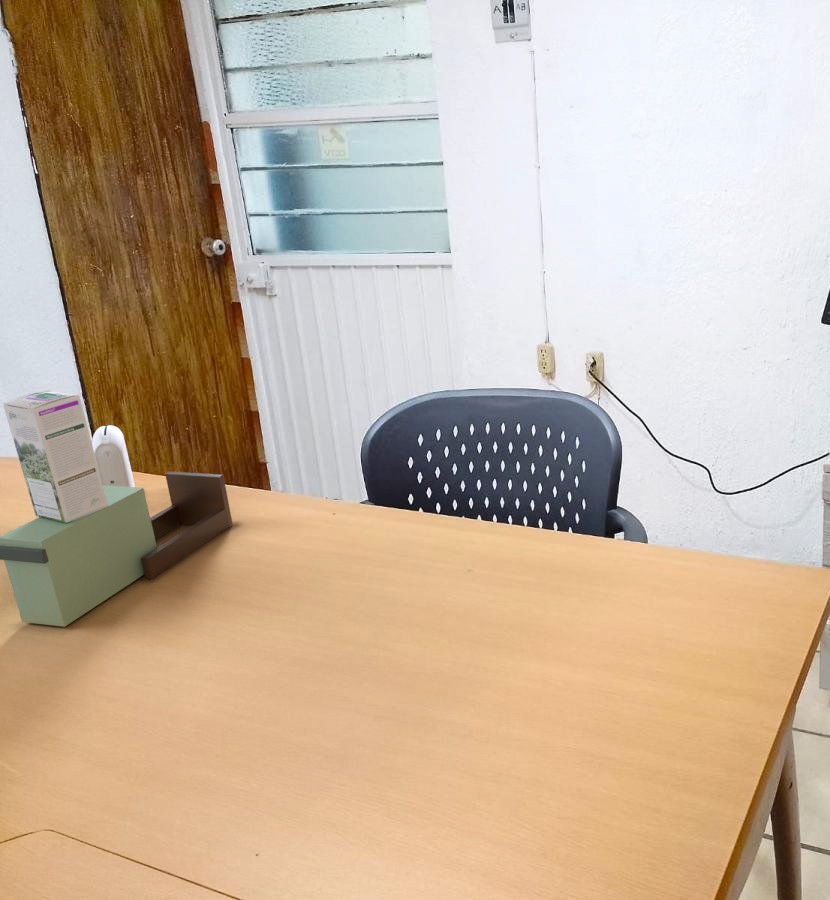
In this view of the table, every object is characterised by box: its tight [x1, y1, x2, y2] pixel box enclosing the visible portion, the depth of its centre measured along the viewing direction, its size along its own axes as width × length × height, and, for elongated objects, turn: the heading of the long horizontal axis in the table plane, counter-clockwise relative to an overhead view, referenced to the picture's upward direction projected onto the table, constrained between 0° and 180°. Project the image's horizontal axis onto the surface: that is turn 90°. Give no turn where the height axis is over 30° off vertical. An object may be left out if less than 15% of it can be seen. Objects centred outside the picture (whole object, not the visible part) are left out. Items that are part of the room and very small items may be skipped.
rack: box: [141, 471, 234, 580], centre depth 115 cm, size 9×17×8 cm, turn 168°
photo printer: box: [91, 424, 136, 487], centre depth 130 cm, size 10×4×12 cm, turn 28°
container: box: [0, 485, 158, 628], centre depth 102 cm, size 6×16×11 cm, turn 168°
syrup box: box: [2, 390, 108, 523], centre depth 98 cm, size 6×6×14 cm
